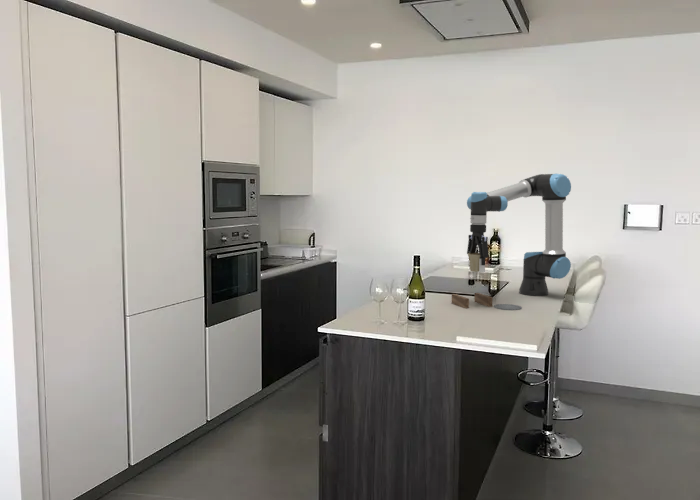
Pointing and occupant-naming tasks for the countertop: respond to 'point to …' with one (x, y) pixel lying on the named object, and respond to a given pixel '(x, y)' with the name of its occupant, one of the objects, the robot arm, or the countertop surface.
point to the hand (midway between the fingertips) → (477, 270)
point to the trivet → (507, 306)
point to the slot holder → (478, 298)
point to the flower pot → (474, 261)
